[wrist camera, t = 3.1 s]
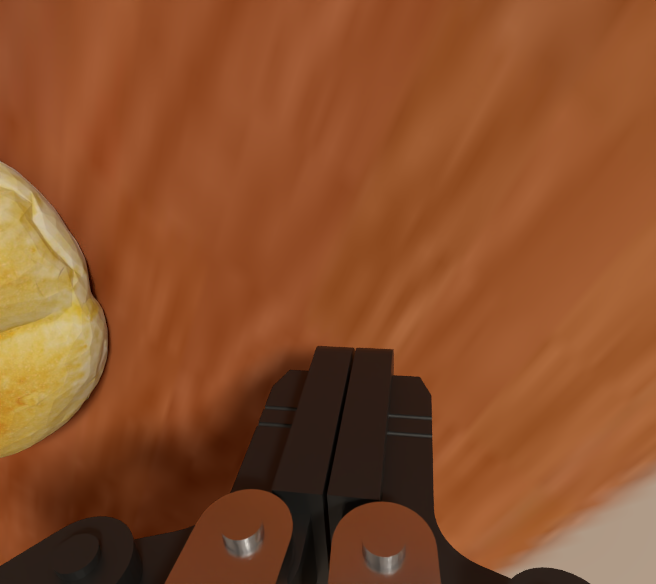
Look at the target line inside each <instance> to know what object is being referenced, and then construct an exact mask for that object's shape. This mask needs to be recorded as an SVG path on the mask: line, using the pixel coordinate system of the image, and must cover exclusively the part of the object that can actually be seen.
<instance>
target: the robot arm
mask: <svg viewBox="0 0 656 584" xmlns="http://www.w3.org/2000/svg"><path fill="white" fill-rule="evenodd" d="M393 372H394V352H393V349H373V348H356V351H355V349H354V348H349V347H327V346H317V348H316V350H315V353H314V357H313V360H312V363H311V366H310V369H309V371H301V370H289V371H288V372H287V373H286V374H285V375H284V376H283V377H282V378H281V379H280V380H279V381H278V382H277V383H276V384H275V385H274V386H273V387H272V390H271V392H270V395H269V397H268V400H267V402H266V405H265V409H264V410H263V412H262V415H261V418H260V420H259V426H257V428H256V430H255V433H254V435H253V438H252V440H251V443H250V445H249V448H248V450H247V453H246V455H245V458H244V460H243V463H242V465H241V468H240V470H239V473H238V475H237V478H236V480H235V483H234V485H233V488H232V490H231V492H230V494H227V495H225V496H223V497H221V498H220V499H218V500H217V501H215V502H214V503H212V504H211V505H210V506H209V507H208V508H207V509H206V510H205V511H204V512H203V514H202V515H201V516H200V518H199V520H198V521H197V523H196V525H194V526H191V527H189V528H186V529H183V530H179V531H175V532H170V533H165V534H160V535H155V536H150V537H145V538H140V539H134V538H133V536H132V533H131V531H130V529H129V528H128V527H127V526H126V525H125V524H124V523H123V522H121V521H120V520H118V519H115V518H111V517H91V518H86V519H83V520H79V521H77V522H75V523H72V524H70V525H68V526H66V527H64V528H62V529H61V530H59V531H57V532H56V533H54V534H52V535H51V536H49V537H48V538H46V539H44V540H43V541H41V542H39V543H38V544H36V545H34V546H33V547H31V548H29V549H28V550H26V551H24V552H23V553H21V554H19V555H18V556H16V557H14V558H13V559H11V560H9V561H8V562H6V563H4V564H3V565H1V566H0V584H590V583H588V582H587V581H585V580H584V579H582V578H580V577H578V576H576V575H574V574H571V573H568V572H566V571H563V570H558V569H554V568H543V567H542V568H533V569H529V570H525V571H523V572H521V573H519V574H517V575H515V576H514V577H513V578H512V579H510V578H508V577H506V576H503V575H501V574H499V573H496V572H494V571H492V570H489V569H487V568H485V567H482V566H480V565H478V564H476V563H474V562H472V561H470V560H469V559H467V558H466V557H464V556H463V555H461V554H460V553H459V552H458V551H456V550H455V549H454V548H453V547H452V546H451V545H450V544H449V543H448V541H447V540H446V539H445V538H444V536H443V535H442V533H441V531H440V529H439V527H438V525H437V522H436V519H435V515H434V497H433V451H432V405H431V394H430V393H429V391H428V389H427V388H426V386H425V385H424V383H423V381H422V380H421V378H420V377H413V376H395V375H393Z"/></svg>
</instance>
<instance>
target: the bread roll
mask: <svg viewBox="0 0 656 584" xmlns="http://www.w3.org/2000/svg"><path fill="white" fill-rule="evenodd" d="M107 351H108V333H107V325H106V321H105V317H104V313H103V309H102V308H101V306H100V304H99V302H98V301H97V300H96V299H95V298H94V297H93V295H92V293H91V290H90V284H89V277H88V269H87V265H86V261H85V258H84V255H83V253H82V251H81V249H80V247H79V245H78V243H77V241H76V240H75V238H74V237H73V236H72V234H71V233H70V231H69V230H68V229H67V227H66V225H65V224H64V222H63V221H62V219H61V217H60V216H59V214H58V212H57V211H56V210H55V208H54V207H53V206H52V205H51V204H50V203H49V201H48V200H47V199H46V198H45V197H44V196H43V195H42V194H41V193H40V191H39V190H37V189H36V188H35V187H34V186H33V185H32V184H31V183H30V182H29V181H28V180H26V179H25V178H24V177H23V176H22V175H21V174H20V173H19V172H17V171H16V170H15V169H13V168H11V167H10V166H8V165H6V164H4V163H3V162H1V161H0V458H2V457H5V456H9V455H12V454H15V453H18V452H20V451H22V450H24V449H27V448H29V447H31V446H32V445H34V444H36V443H37V442H39V441H41V440H43V439H44V438H45V437H47V436H48V435H50V434H52V433H53V432H55V431H56V430H58V429H59V428H60V427H61V426H63V425H64V424H65V423H67V422H68V421H69V420H70V419H71V417H72V416H73V415H74V414H75V413H76V412H77V411H78V410H79V409H80V407H81V406H82V404H83V402H84V401H85V400H87V399H88V398H89V396H90V393H91V392H92V390H93V389H94V388H95V386H96V385H97V384H98V382H99V379H100V377H101V375H102V372H103V370H104V366H105V363H106V360H107Z"/></svg>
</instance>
